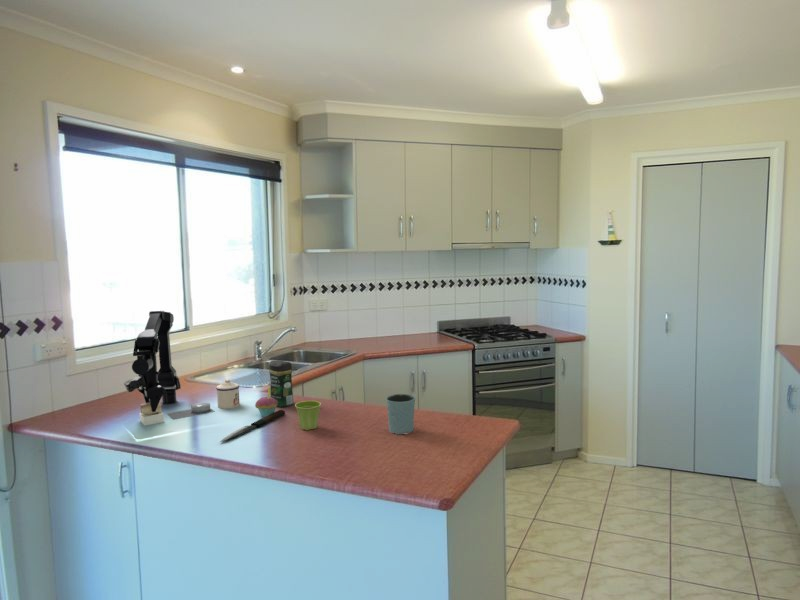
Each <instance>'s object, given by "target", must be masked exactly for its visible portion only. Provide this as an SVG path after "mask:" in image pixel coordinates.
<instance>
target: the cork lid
mask: <svg viewBox="0 0 800 600" xmlns="http://www.w3.org/2000/svg"><path fill="white" fill-rule="evenodd" d="M161 402H162V401H160V402H159V404H158V406H157V409H156V411H155V412H152V409H151V405H150V402H148V403H145V402H144V403H141V404H140V413H143V414H151V413H156V412H159V411H161V412H162V409H163V408H162V406H163V405H162V404H161Z"/></svg>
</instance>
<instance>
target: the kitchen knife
mask: <svg viewBox="0 0 800 600" xmlns="http://www.w3.org/2000/svg"><path fill="white" fill-rule="evenodd" d="M284 414H285V415H286V411H285V410H283V409H278V410H275V411H274V413H272V414H270V415H268V416H266V417H262V418H260V419H258V420H256V421H254V422H252V423H251V424H250V425H244V426H243V427H239V428H238V429H237V430H235V431H233V432H231V433H230V434H229V435H226V436H225V437H223V438H222V439H221V440H220V441H219V443H221V442H227V441H230V440H232V439H235V438H237V437H239V436H243V435H244V434H245V433H248V432H250V431H252V430H254V429H259V428H261V427H263V426H265V425H267V424H268V423H271V422H273V421H275V420H277V419H279V418H280V416H281V417H283V416H285V415H284ZM282 415H283V416H282ZM278 417H279V418H278ZM276 418H277V419H276ZM274 419H275V420H274Z"/></svg>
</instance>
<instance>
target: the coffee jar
mask: <svg viewBox="0 0 800 600" xmlns="http://www.w3.org/2000/svg"><path fill="white" fill-rule="evenodd" d="M268 365H269V366H268V371H269V377H270V379H269V380H270V384H269V387H270V397H272V398H274V399H275V400H277V402H278V405H277V407H280V408H282V407H283V408H284V407H290V406H291V405H292V404H294V392H293V382H292V380H293V379H292V378H293V377H292V374H293V366H292V362H289V361H284V360H279V359H277V360H272V361H270V363H269V364H268ZM289 405H290V406H289Z"/></svg>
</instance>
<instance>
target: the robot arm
mask: <svg viewBox="0 0 800 600" xmlns="http://www.w3.org/2000/svg"><path fill="white" fill-rule="evenodd" d="M174 319H175V318H174V314H173V313H171V312H170V311H164V310H161V309H160V310H159V309H158V310H150V311H149V313H148V320H147V323H146V325H145V328H144V330H143V331H141V332H140V333H138V335H137V337H136V339H135V341H134V344H133V351H132V352H133V353H132V357H136V360H134V361H132V365H131V370H132V371H133V372H134V374H136V375H138V376H136V377H133V378H131V379H129V380H126V381H124V382H123V385H124V387H125V390H126V391H128V393H133V392H134V390H137V391H138V392H140V393H141V394H142V396H143V400H144V403H148V402H150V405H151V409H152V412H155V411H156V409H157V406H158V404H159V402H161V406H164V405H171V404H176V403H179V400H177V399H178V398H177V391H178V390H181V389H182V387H181V381H180V378H179V376H178V375H177V370H176V369H175V367H173V366H172V353H171V352H172V351H171V339H170V331H171V329H172V327H173V323H174ZM157 354H158V358H159V370H158V363H157Z"/></svg>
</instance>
